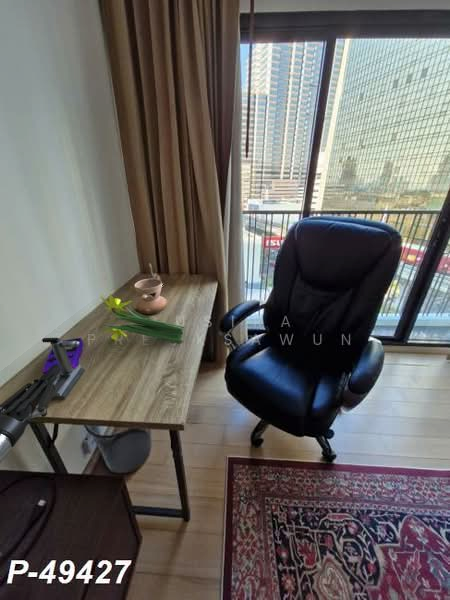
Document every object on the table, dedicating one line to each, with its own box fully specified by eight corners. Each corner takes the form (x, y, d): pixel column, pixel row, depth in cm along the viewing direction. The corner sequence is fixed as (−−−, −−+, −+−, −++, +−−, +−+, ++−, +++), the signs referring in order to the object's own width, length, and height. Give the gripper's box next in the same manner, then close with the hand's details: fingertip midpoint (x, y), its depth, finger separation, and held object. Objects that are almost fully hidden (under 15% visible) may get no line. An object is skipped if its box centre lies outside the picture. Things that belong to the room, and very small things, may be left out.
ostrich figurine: (159, 296, 137) (154, 265, 129) (147, 296, 138) (142, 264, 130) (170, 284, 152) (166, 255, 143) (159, 284, 153) (155, 255, 144)
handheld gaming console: (40, 371, 81) (53, 340, 93) (46, 382, 84) (58, 351, 96) (72, 365, 83) (81, 336, 95) (77, 376, 86) (85, 346, 98)
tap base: (41, 400, 74) (38, 393, 73) (64, 371, 85) (61, 365, 84) (65, 399, 74) (62, 393, 73) (84, 371, 85) (82, 365, 84)
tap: (54, 377, 81) (39, 341, 74) (60, 370, 83) (45, 335, 77) (87, 376, 81) (74, 341, 74) (91, 370, 83) (79, 335, 77)
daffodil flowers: (174, 358, 92) (79, 335, 90) (178, 353, 106) (96, 332, 104) (186, 313, 93) (93, 289, 91) (189, 314, 108) (108, 294, 106)
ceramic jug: (162, 318, 116) (158, 290, 109) (131, 318, 116) (125, 290, 110) (171, 301, 132) (168, 275, 125) (144, 300, 132) (140, 275, 126)
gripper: (-27, 452, 57) (40, 377, 78) (31, 450, 57) (82, 376, 78) (-43, 430, 54) (31, 358, 75) (18, 428, 54) (75, 357, 75)
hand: (57, 367), depth 77 cm, fingers closed
